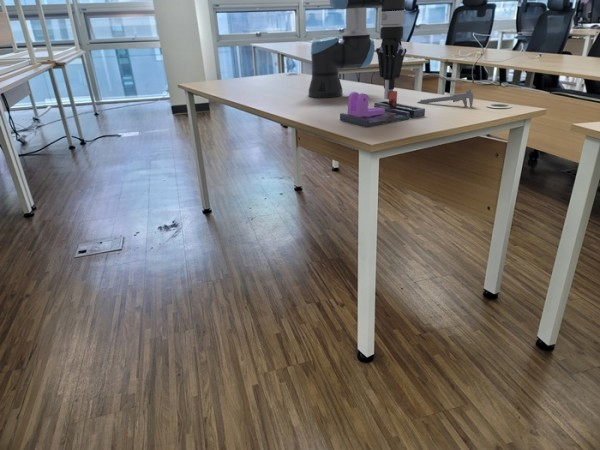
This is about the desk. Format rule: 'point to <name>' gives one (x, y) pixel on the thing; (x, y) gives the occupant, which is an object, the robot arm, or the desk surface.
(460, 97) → the caliper
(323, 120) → the desk surface
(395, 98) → the lever
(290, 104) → the desk surface
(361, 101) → the bracket
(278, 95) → the desk surface
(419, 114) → the frame
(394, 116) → the press bed
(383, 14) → the robot arm
